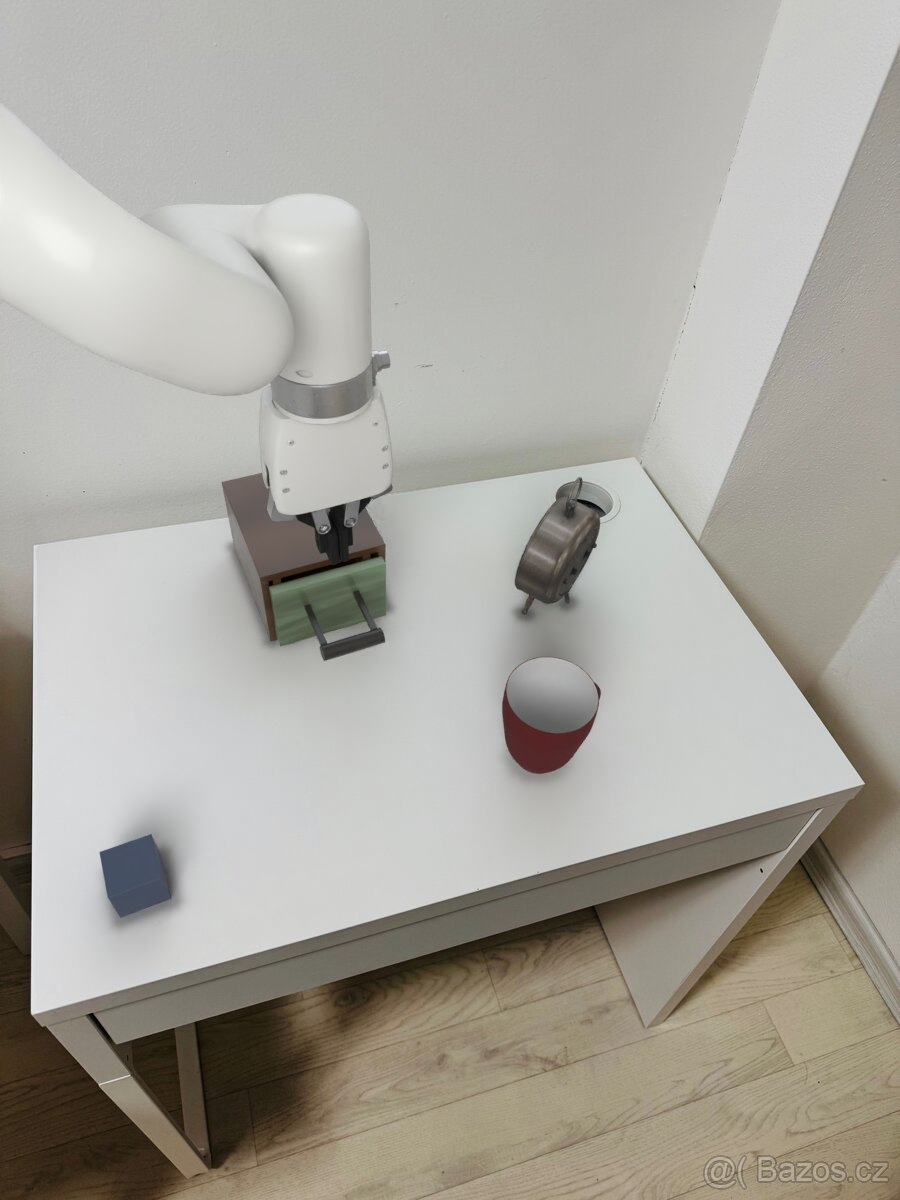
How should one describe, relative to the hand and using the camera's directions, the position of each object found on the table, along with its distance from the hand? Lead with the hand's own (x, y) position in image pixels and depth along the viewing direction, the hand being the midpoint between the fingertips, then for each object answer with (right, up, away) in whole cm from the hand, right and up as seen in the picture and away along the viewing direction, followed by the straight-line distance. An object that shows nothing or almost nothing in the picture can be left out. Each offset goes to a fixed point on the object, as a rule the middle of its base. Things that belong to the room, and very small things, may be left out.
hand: (335, 552), depth 75 cm
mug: (+19, -18, +4) cm, 27 cm away
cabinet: (-5, -2, +16) cm, 17 cm away
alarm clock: (+22, -4, +17) cm, 28 cm away
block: (-15, -28, -7) cm, 32 cm away
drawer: (-3, -5, +12) cm, 14 cm away
